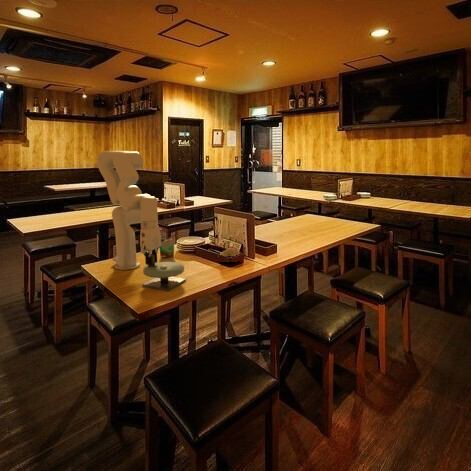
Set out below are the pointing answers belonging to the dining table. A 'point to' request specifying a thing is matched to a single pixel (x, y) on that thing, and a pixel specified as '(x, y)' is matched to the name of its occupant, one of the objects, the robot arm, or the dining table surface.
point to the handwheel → (163, 269)
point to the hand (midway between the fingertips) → (151, 263)
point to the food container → (167, 248)
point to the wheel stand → (164, 283)
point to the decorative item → (230, 252)
